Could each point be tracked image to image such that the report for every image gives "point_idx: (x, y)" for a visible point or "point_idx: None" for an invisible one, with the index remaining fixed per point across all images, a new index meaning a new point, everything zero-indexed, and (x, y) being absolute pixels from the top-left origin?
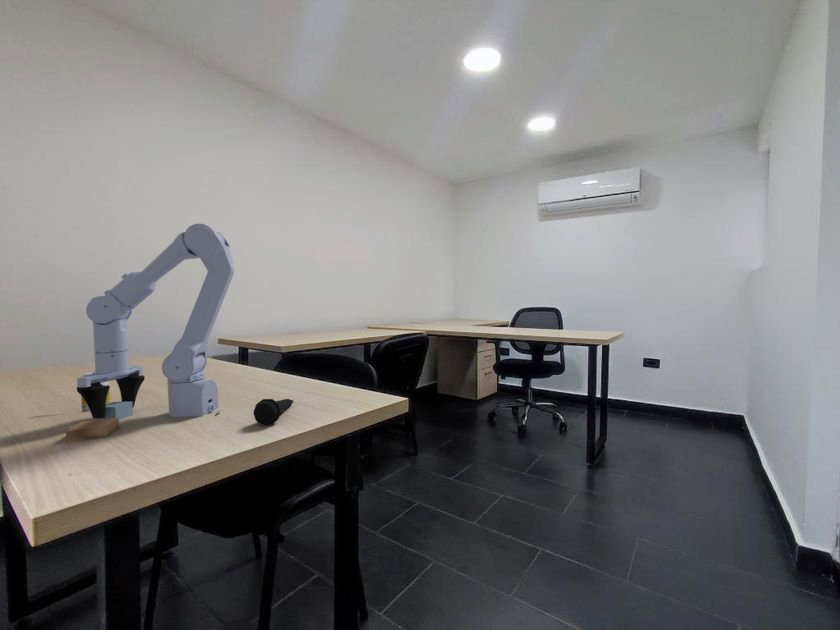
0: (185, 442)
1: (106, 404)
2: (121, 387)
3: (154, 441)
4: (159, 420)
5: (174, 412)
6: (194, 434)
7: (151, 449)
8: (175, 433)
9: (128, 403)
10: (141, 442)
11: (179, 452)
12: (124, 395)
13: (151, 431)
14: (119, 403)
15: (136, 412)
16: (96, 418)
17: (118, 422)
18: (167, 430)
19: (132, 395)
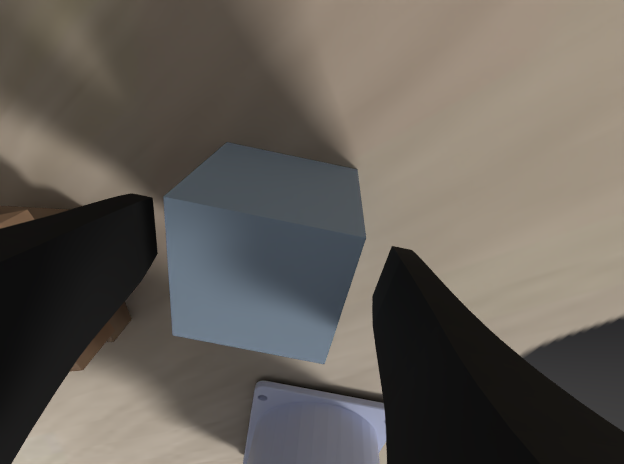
0: (97, 457)
1: (258, 236)
2: (458, 397)
3: (89, 412)
4: (308, 363)
5: (250, 455)
6: (153, 461)
7: (38, 421)
8: (157, 432)
9: (291, 352)
10: (74, 391)
11: (42, 460)
12: (411, 334)
13: (171, 382)
14: (281, 313)
15: (547, 201)
16: (206, 163)
17: (95, 350)
18: (182, 412)
19: (385, 385)
